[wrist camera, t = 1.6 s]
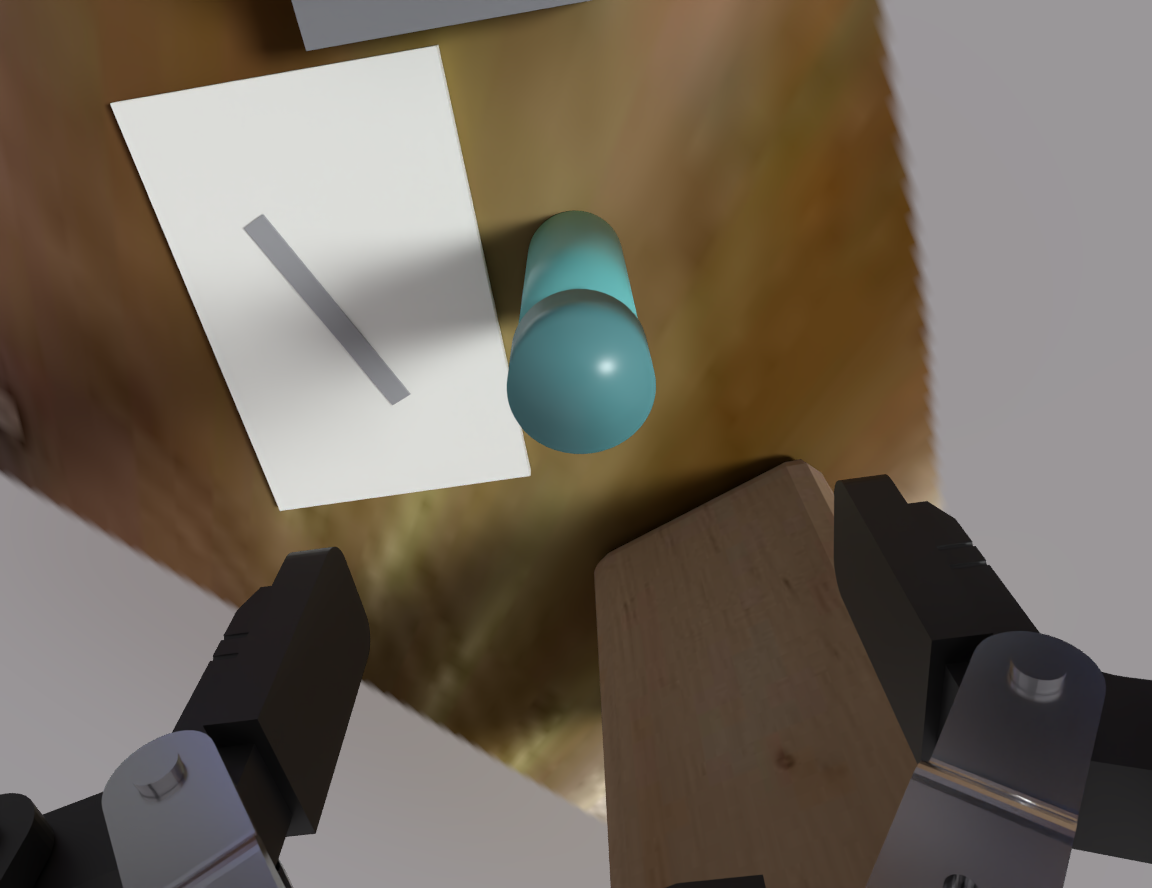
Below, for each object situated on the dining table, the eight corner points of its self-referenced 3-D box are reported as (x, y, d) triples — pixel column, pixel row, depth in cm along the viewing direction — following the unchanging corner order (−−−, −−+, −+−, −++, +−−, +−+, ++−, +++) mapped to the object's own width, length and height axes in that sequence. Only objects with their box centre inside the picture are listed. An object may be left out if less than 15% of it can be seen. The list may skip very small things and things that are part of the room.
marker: (516, 216, 26) (492, 331, 17) (618, 199, 26) (647, 308, 17) (534, 313, 28) (521, 462, 19) (631, 298, 27) (662, 443, 19)
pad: (116, 102, 24) (108, 104, 24) (438, 44, 23) (435, 45, 23) (283, 505, 32) (279, 512, 31) (530, 470, 31) (530, 477, 30)
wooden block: (803, 440, 30) (1120, 1040, 13) (898, 606, 35) (1232, 1224, 17) (583, 554, 33) (606, 1180, 16) (697, 695, 37) (813, 1310, 20)
